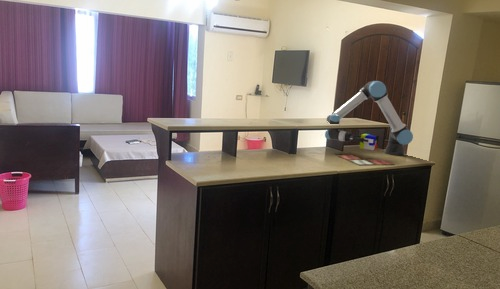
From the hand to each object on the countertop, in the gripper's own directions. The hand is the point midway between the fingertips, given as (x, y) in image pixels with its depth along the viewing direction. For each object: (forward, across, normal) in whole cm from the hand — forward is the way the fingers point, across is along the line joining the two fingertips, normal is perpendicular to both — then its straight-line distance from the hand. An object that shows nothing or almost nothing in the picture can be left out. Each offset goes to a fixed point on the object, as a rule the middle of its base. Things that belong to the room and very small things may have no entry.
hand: (374, 140), depth 286 cm
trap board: (-3, +10, -14) cm, 18 cm away
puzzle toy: (-4, 0, -7) cm, 8 cm away
